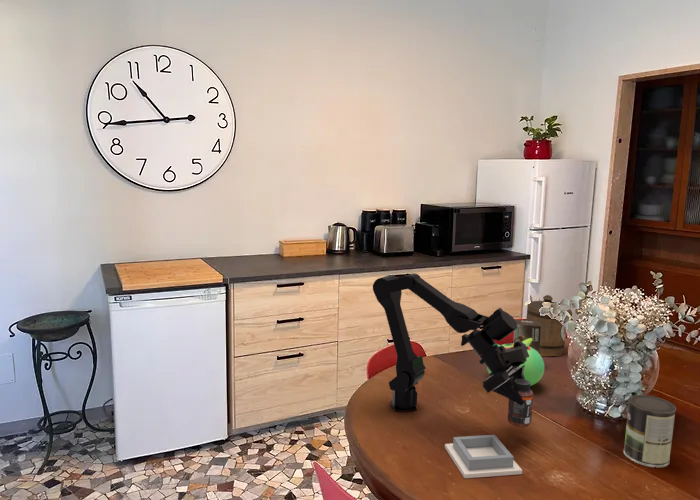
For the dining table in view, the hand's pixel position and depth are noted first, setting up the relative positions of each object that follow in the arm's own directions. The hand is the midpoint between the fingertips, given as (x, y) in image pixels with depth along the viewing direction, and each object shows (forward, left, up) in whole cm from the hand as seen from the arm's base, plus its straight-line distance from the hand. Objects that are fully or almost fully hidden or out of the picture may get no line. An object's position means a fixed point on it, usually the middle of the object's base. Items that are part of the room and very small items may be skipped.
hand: (526, 400), depth 143 cm
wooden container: (+41, +67, -12) cm, 79 cm away
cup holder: (-15, -8, -11) cm, 20 cm away
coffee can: (+27, -11, -12) cm, 31 cm away
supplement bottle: (-1, +1, -7) cm, 7 cm away
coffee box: (+26, +52, -12) cm, 59 cm away
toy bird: (+14, +36, -12) cm, 40 cm away
